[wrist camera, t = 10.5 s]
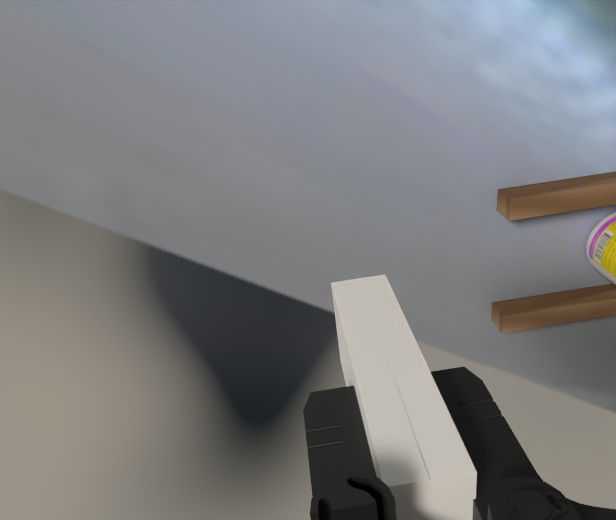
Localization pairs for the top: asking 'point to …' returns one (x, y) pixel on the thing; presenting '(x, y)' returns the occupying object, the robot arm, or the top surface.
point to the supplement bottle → (603, 247)
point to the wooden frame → (567, 303)
